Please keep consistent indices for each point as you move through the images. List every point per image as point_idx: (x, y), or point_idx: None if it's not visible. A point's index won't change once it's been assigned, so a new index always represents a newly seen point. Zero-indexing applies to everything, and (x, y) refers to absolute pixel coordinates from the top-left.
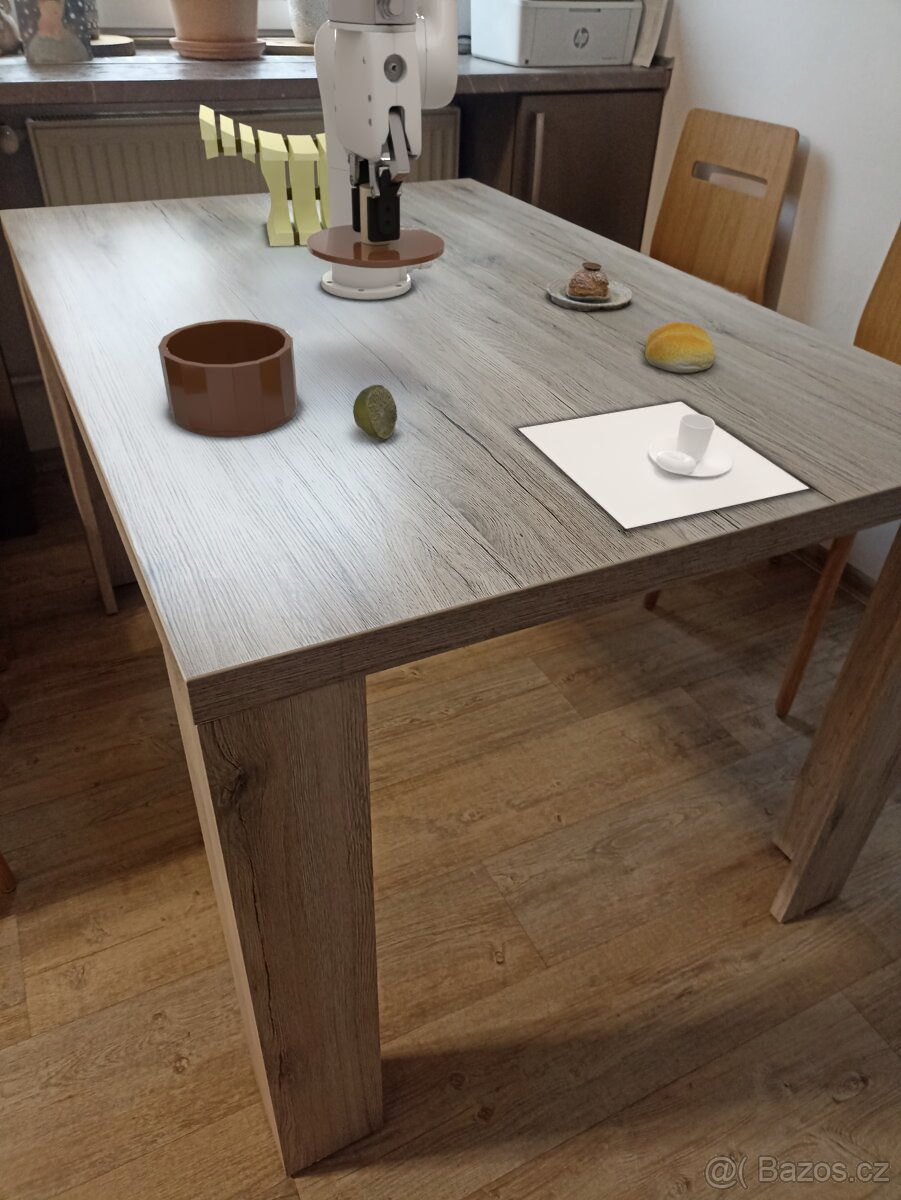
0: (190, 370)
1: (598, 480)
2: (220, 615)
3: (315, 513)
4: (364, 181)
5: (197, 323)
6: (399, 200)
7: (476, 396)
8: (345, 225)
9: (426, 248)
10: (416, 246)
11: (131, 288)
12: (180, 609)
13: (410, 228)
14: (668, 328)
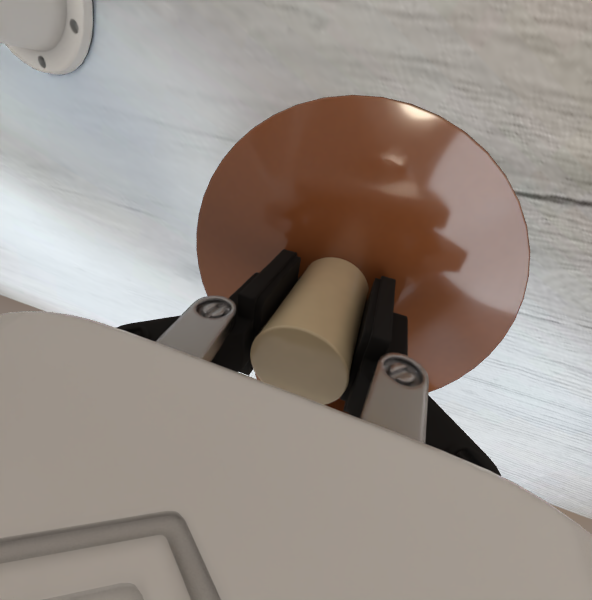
0: None
1: None
2: (580, 496)
3: (541, 407)
4: (240, 362)
5: (257, 377)
6: (390, 332)
7: (507, 97)
8: (198, 261)
9: (472, 232)
10: (435, 243)
11: (55, 265)
12: (550, 498)
13: (273, 134)
14: None
